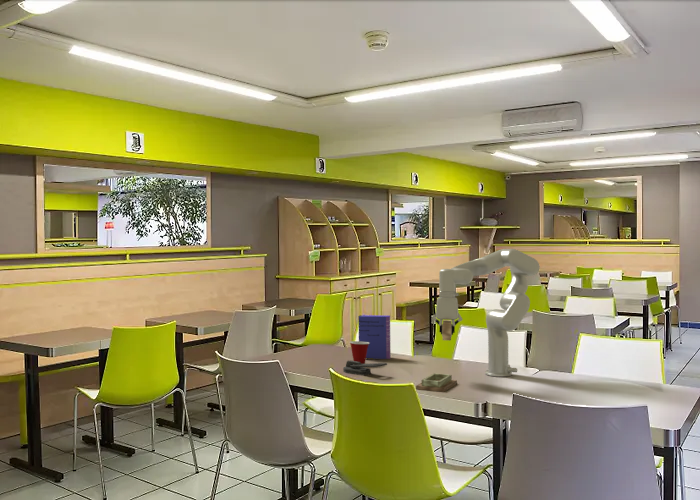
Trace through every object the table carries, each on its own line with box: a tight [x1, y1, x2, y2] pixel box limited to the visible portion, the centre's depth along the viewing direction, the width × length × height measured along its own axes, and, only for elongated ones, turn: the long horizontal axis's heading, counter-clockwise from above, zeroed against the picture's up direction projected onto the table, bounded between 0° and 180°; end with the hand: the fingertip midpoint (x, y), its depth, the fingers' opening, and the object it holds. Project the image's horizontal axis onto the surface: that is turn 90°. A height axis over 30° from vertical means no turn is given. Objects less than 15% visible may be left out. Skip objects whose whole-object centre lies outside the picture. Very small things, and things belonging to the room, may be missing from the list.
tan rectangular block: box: [441, 319, 453, 341], centre depth 295 cm, size 4×12×8 cm, turn 170°
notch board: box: [415, 372, 458, 393], centre depth 283 cm, size 13×18×4 cm
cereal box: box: [358, 314, 392, 360], centre depth 355 cm, size 17×5×24 cm, turn 82°
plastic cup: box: [349, 340, 369, 364], centre depth 338 cm, size 11×11×12 cm
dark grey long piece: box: [343, 360, 388, 376], centre depth 312 cm, size 9×7×25 cm
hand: (447, 333), depth 295 cm, fingers closed on tan rectangular block, 4 cm apart
